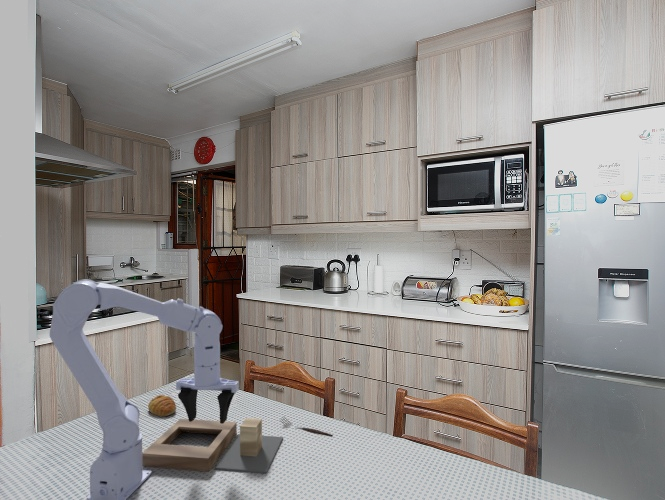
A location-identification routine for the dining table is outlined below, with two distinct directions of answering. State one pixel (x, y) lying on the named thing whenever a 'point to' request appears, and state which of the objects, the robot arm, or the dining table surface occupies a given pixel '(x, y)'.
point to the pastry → (162, 405)
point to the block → (251, 437)
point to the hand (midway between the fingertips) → (207, 420)
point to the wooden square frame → (189, 456)
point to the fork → (305, 428)
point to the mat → (250, 463)
